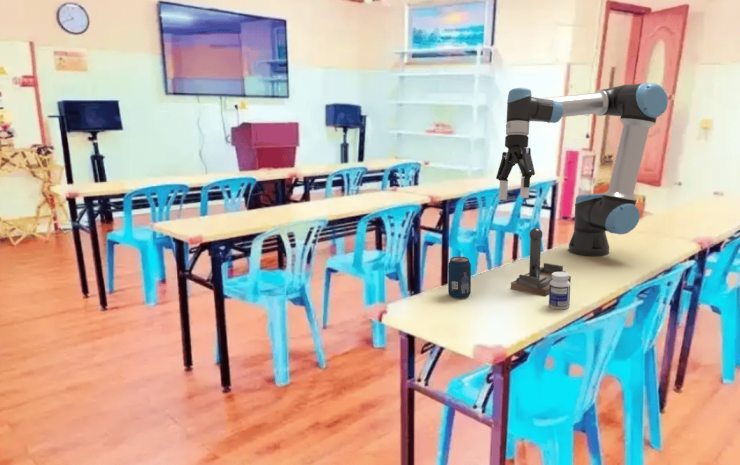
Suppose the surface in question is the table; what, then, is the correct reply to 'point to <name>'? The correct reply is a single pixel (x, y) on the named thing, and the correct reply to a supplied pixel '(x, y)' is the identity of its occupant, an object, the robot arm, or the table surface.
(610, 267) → the table surface
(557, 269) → the press base
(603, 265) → the table surface
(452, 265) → the soda can
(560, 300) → the pill bottle
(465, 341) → the table surface
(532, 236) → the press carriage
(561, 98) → the robot arm
